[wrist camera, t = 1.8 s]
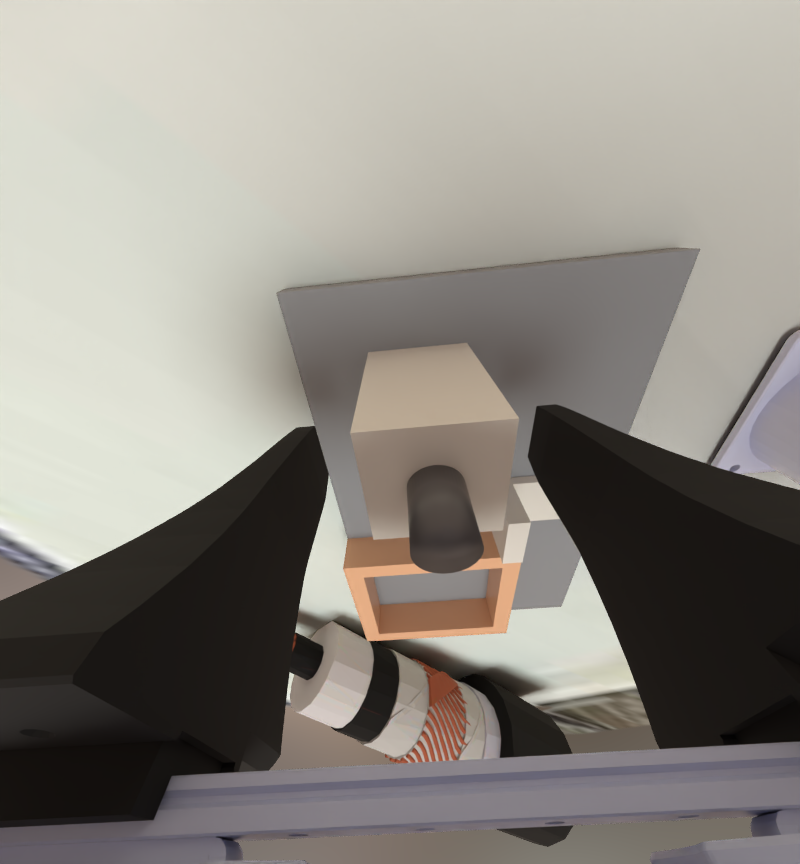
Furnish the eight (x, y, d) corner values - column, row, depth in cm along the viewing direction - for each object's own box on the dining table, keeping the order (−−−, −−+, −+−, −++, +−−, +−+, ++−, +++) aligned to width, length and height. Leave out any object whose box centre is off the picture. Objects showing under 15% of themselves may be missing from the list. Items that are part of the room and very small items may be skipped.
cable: (303, 546, 28) (295, 632, 18) (528, 684, 38) (601, 787, 28) (231, 635, 27) (182, 773, 18) (479, 751, 37) (535, 881, 27)
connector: (466, 342, 12) (558, 475, 5) (464, 426, 14) (527, 595, 8) (368, 352, 12) (336, 492, 5) (380, 433, 14) (369, 605, 8)
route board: (677, 248, 11) (700, 248, 10) (555, 593, 24) (561, 606, 23) (284, 288, 12) (276, 293, 11) (371, 605, 25) (371, 618, 24)
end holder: (510, 526, 18) (522, 556, 17) (498, 604, 23) (506, 632, 21) (347, 538, 19) (343, 568, 17) (369, 612, 23) (367, 641, 22)
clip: (585, 471, 16) (621, 516, 13) (573, 510, 18) (603, 556, 15) (490, 479, 16) (508, 524, 14) (487, 517, 18) (502, 563, 15)
